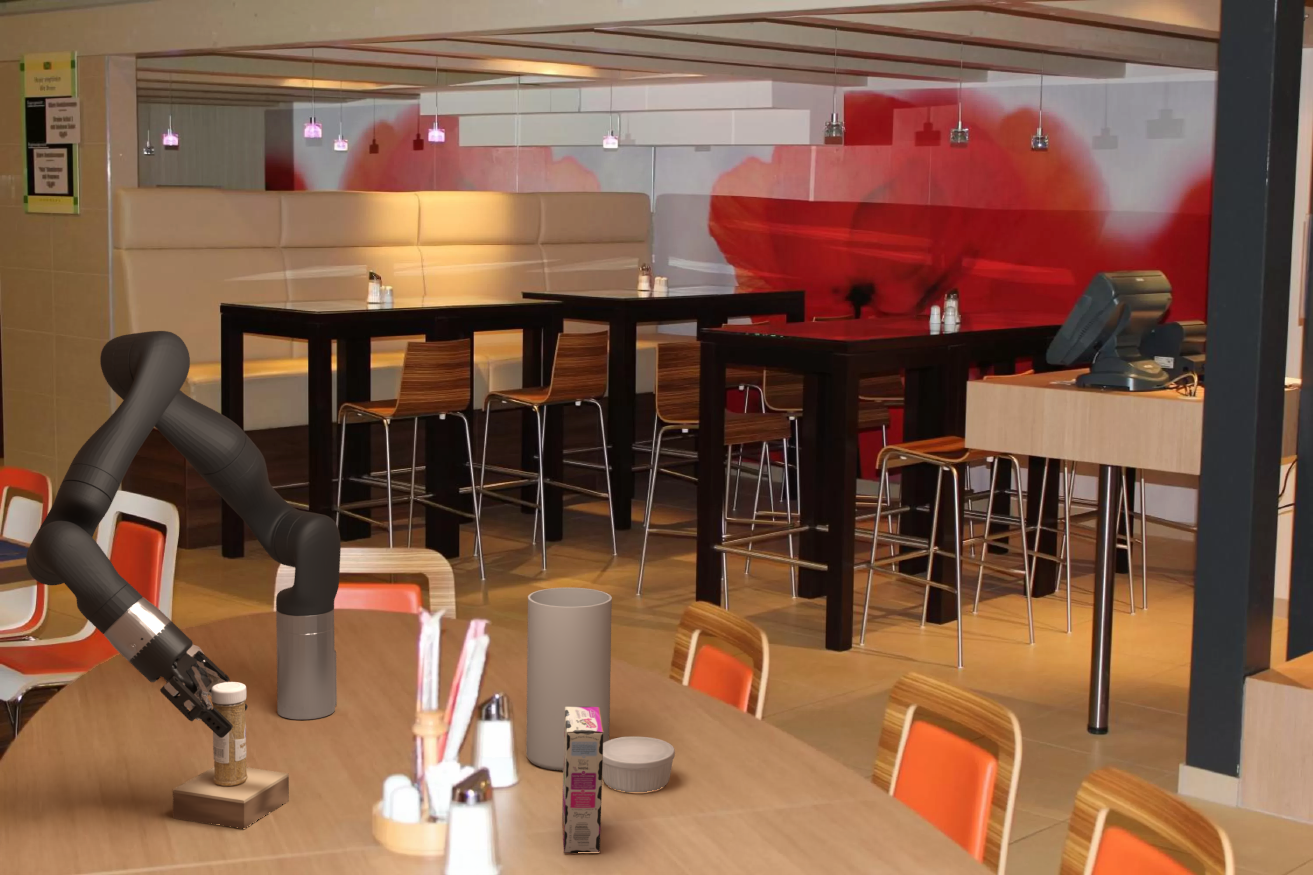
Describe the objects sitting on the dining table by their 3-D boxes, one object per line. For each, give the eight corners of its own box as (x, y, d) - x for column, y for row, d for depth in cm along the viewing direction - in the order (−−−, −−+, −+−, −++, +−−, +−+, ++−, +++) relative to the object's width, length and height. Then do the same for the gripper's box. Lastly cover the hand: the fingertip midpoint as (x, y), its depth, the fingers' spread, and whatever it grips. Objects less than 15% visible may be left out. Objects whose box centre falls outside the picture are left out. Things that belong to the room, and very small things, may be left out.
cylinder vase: (577, 778, 226) (580, 611, 223) (509, 761, 233) (511, 599, 229) (624, 754, 237) (627, 595, 233) (558, 739, 243) (560, 583, 240)
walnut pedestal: (220, 790, 219) (220, 763, 218) (289, 800, 215) (288, 773, 215) (173, 817, 208) (172, 789, 208) (244, 829, 205) (243, 800, 204)
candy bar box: (602, 854, 199) (604, 731, 197) (563, 855, 199) (565, 731, 196) (598, 821, 210) (600, 704, 208) (561, 822, 210) (563, 704, 207)
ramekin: (618, 802, 218) (618, 766, 217) (584, 776, 227) (585, 741, 227) (688, 790, 223) (689, 755, 222) (652, 765, 233) (653, 731, 232)
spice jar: (252, 783, 210) (251, 687, 208) (219, 789, 208) (217, 692, 206) (241, 772, 214) (239, 678, 212) (208, 778, 212) (206, 683, 210)
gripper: (152, 634, 201) (243, 720, 203) (182, 607, 215) (266, 688, 217) (112, 673, 201) (202, 759, 203) (144, 644, 215) (228, 724, 217)
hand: (235, 722), depth 210 cm, fingers open, 8 cm apart
